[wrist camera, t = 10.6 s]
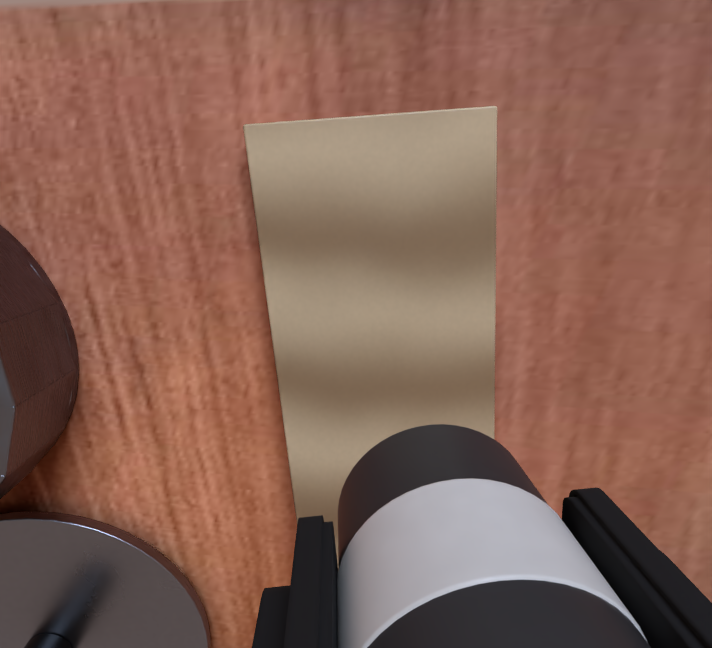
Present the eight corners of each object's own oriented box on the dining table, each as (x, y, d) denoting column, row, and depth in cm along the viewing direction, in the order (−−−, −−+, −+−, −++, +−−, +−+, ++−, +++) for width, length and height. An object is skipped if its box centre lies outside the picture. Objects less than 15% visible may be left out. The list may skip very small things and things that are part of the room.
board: (249, 130, 18) (242, 123, 17) (484, 113, 18) (498, 105, 17) (306, 559, 24) (304, 581, 23) (484, 540, 24) (493, 561, 23)
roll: (326, 431, 11) (315, 822, 4) (531, 411, 11) (863, 755, 4) (344, 596, 12) (358, 1100, 5) (525, 576, 12) (768, 1043, 5)
